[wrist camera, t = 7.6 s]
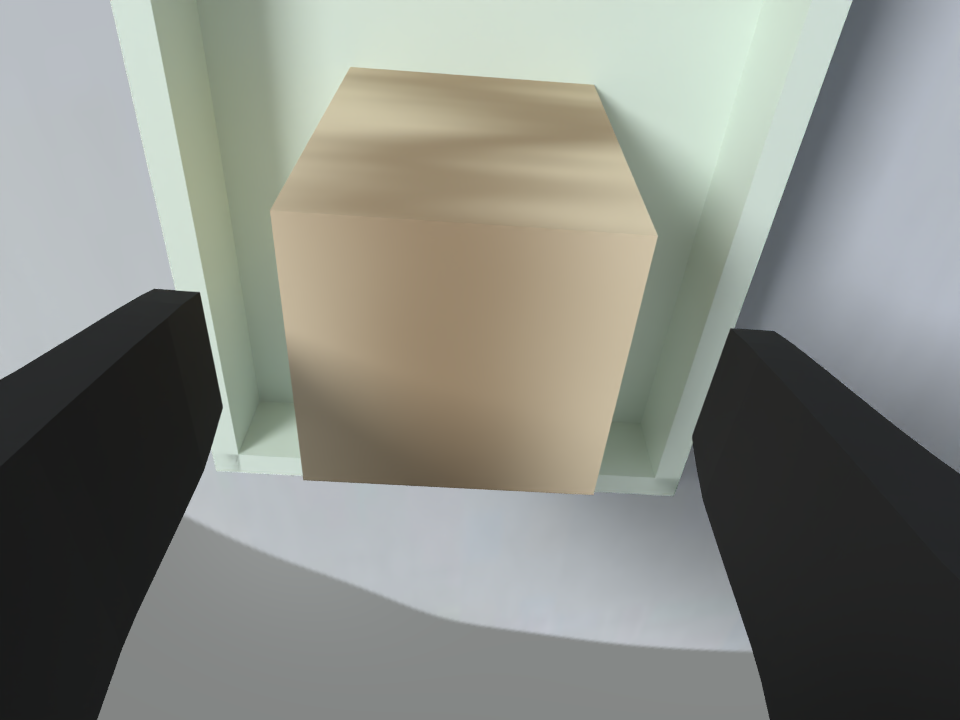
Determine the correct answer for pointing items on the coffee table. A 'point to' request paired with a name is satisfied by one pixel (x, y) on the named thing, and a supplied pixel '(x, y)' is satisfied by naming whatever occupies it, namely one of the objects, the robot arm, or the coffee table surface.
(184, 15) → the serving tray
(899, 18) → the coffee table surface
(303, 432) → the maple block
